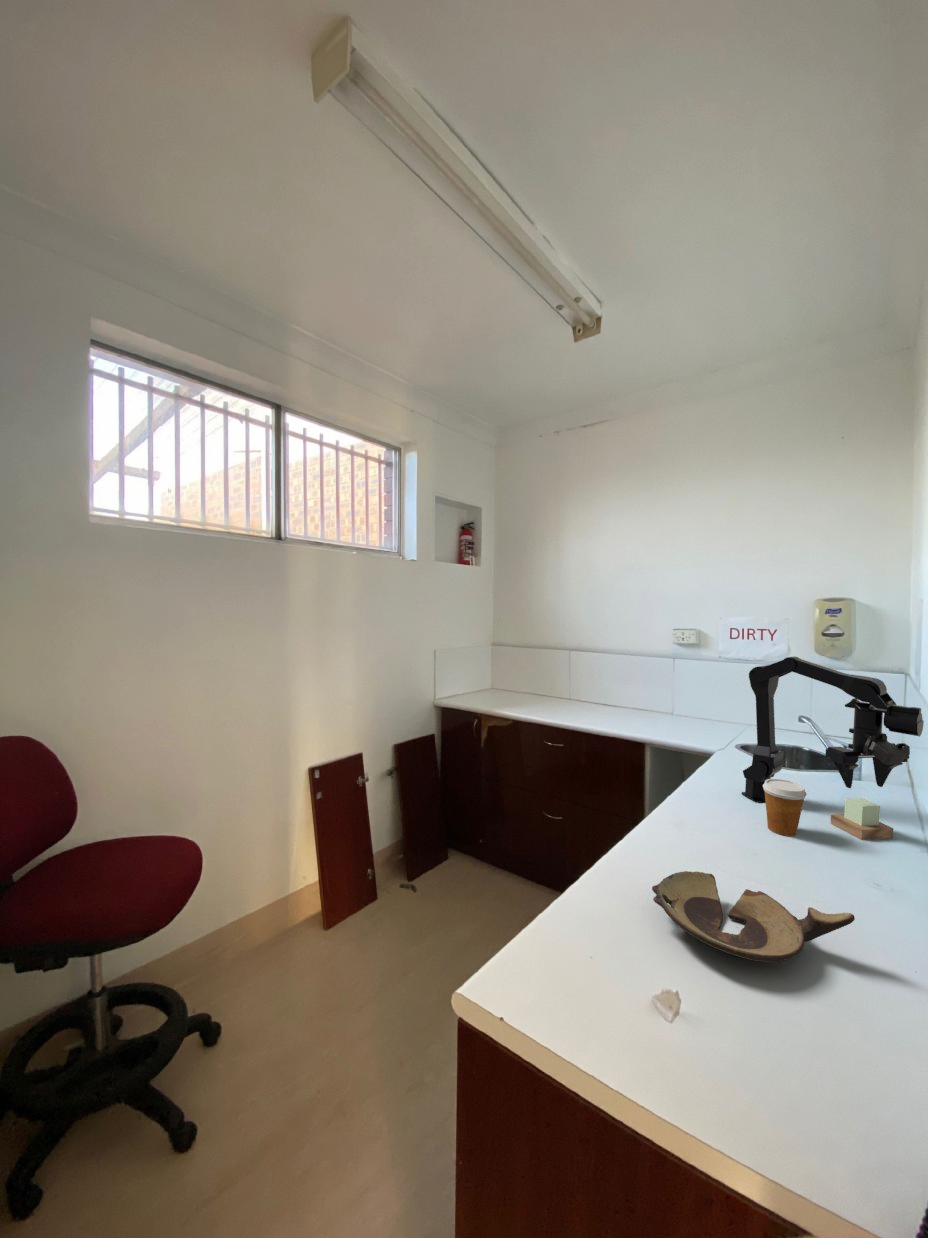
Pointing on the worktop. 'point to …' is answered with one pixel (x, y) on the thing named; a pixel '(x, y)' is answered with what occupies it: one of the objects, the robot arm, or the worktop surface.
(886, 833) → the walnut base
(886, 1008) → the worktop surface
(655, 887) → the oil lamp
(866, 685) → the robot arm
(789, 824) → the disposable coffee cup
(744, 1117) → the worktop surface
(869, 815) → the sage block
